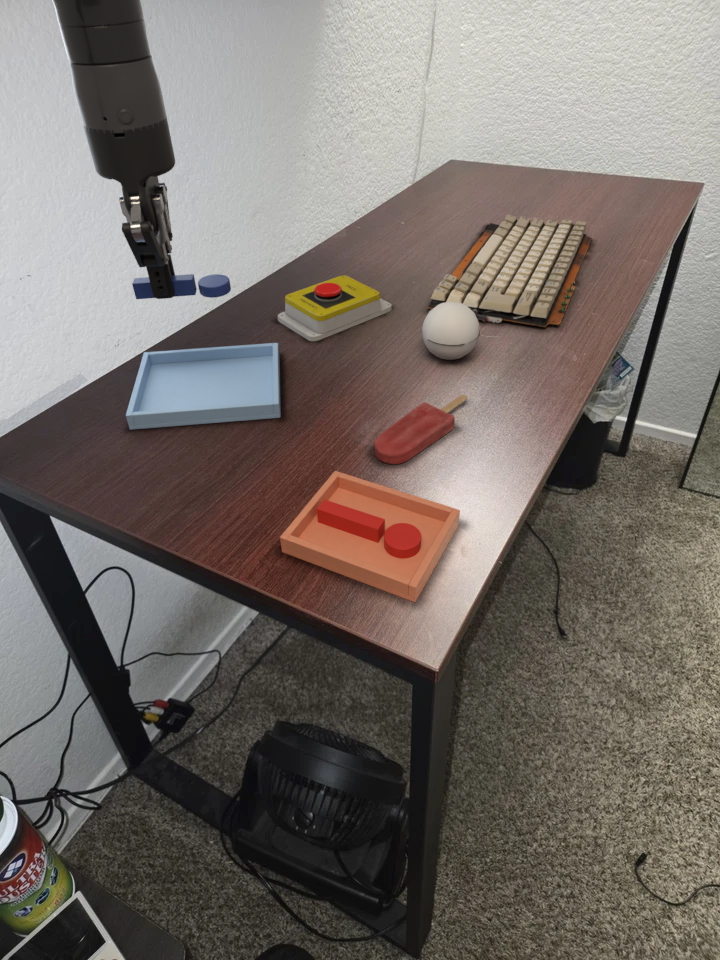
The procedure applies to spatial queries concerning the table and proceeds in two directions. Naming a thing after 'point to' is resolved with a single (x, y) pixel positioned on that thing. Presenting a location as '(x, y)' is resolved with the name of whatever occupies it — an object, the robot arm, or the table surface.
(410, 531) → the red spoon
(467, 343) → the seamed sphere
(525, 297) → the mechanical keyboard
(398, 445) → the popsicle
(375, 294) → the emergency button
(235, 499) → the table surface
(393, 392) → the table surface
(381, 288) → the table surface
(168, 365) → the blue tray
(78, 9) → the robot arm
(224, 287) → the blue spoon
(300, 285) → the table surface
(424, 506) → the clay tray
